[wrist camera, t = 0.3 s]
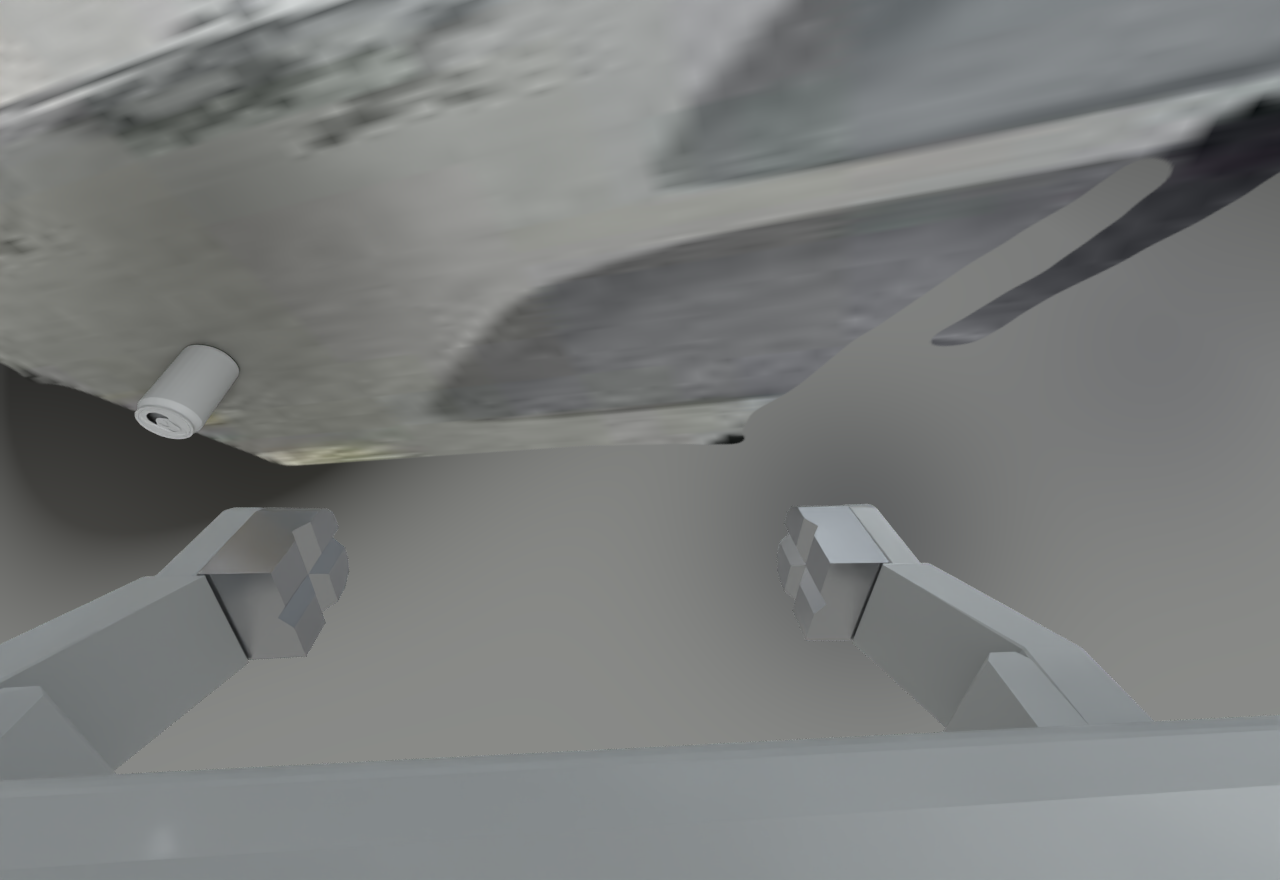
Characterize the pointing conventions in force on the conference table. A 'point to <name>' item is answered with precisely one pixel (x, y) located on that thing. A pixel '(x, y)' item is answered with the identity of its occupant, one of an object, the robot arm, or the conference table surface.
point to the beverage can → (187, 392)
